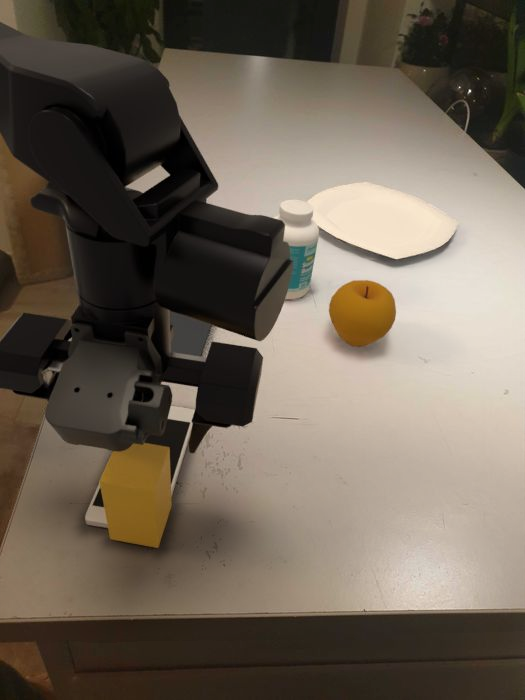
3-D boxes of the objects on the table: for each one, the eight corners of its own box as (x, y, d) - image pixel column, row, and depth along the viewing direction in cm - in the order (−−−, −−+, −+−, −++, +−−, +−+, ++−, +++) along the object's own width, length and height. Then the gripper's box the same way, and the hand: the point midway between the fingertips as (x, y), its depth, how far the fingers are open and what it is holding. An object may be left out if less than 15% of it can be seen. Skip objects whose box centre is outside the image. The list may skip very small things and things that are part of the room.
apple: (352, 312, 78) (365, 260, 72) (400, 343, 74) (418, 291, 68) (310, 334, 73) (320, 280, 68) (358, 369, 69) (374, 315, 63)
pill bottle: (306, 305, 79) (321, 223, 70) (257, 297, 79) (266, 214, 70) (310, 278, 84) (325, 199, 75) (265, 271, 85) (274, 191, 76)
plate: (398, 280, 86) (401, 270, 85) (278, 217, 99) (279, 207, 98) (473, 232, 102) (477, 223, 101) (361, 183, 115) (363, 174, 114)
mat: (107, 348, 67) (106, 345, 67) (145, 280, 80) (145, 278, 79) (198, 363, 67) (198, 360, 67) (223, 293, 79) (223, 290, 79)
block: (109, 539, 48) (98, 481, 42) (126, 497, 51) (118, 438, 45) (158, 548, 48) (154, 491, 42) (171, 505, 51) (169, 446, 45)
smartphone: (196, 414, 60) (196, 408, 60) (159, 537, 49) (159, 532, 48) (135, 404, 60) (135, 399, 60) (84, 524, 49) (83, 519, 48)
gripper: (-100, 341, 28) (-22, 506, 38) (249, 395, 27) (232, 548, 37) (5, 239, 36) (46, 396, 46) (273, 279, 35) (254, 429, 46)
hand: (138, 440), depth 44 cm, fingers open, 9 cm apart
